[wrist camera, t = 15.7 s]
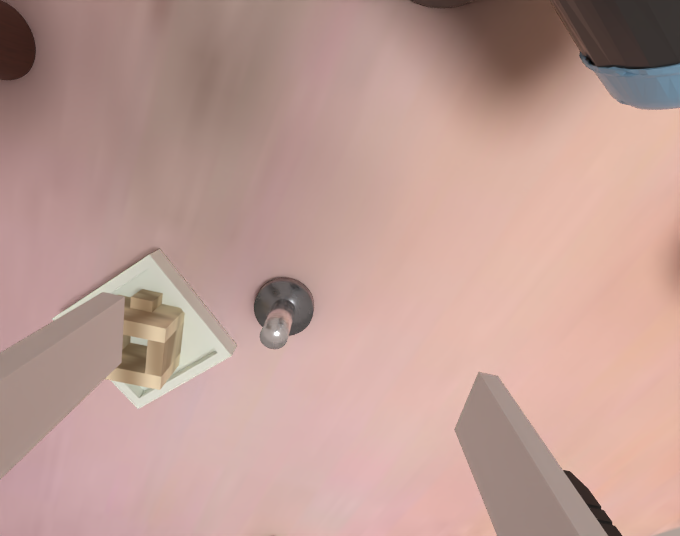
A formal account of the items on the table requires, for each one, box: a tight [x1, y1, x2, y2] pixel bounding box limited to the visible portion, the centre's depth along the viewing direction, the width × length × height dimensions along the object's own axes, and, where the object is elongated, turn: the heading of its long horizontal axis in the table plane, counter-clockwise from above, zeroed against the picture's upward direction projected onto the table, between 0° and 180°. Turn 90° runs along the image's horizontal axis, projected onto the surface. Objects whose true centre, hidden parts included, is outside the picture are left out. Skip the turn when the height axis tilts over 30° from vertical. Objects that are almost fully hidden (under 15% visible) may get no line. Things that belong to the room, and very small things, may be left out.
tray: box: [52, 249, 237, 409], centre depth 44 cm, size 15×15×2 cm
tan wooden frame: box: [105, 289, 185, 390], centre depth 41 cm, size 8×9×5 cm
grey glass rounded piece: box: [254, 278, 314, 349], centre depth 40 cm, size 7×7×8 cm
